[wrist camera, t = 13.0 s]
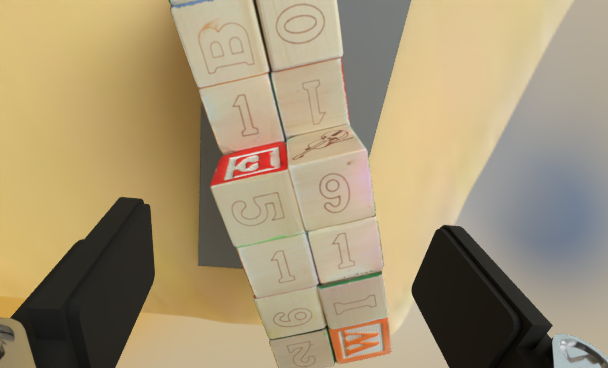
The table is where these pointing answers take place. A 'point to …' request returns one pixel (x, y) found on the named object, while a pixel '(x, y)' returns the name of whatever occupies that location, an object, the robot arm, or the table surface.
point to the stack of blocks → (291, 173)
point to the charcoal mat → (360, 96)
